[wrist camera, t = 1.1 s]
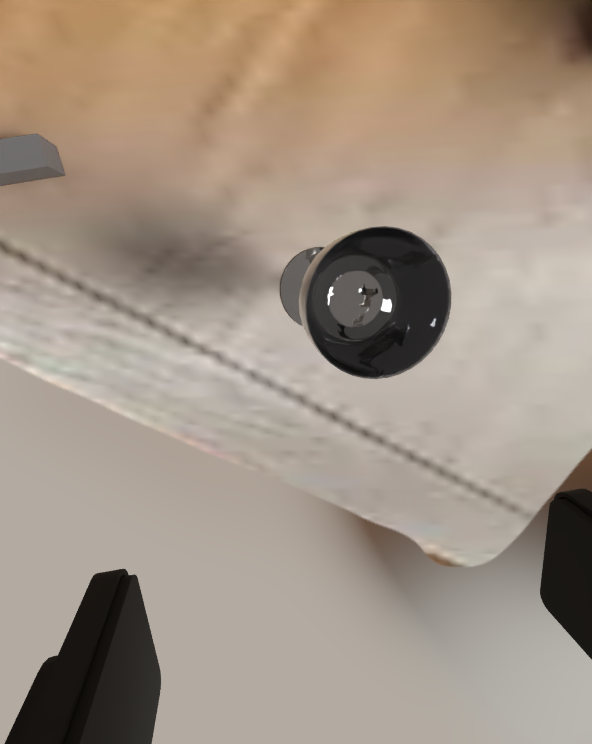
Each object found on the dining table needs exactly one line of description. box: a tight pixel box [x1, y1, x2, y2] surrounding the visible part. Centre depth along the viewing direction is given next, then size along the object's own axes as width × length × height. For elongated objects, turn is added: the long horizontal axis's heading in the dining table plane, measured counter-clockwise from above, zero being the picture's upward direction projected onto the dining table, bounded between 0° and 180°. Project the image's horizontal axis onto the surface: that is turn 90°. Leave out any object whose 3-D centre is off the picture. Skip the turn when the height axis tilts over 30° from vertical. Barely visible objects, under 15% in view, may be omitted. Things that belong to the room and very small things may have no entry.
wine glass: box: [280, 226, 451, 379], centre depth 28 cm, size 8×8×15 cm
